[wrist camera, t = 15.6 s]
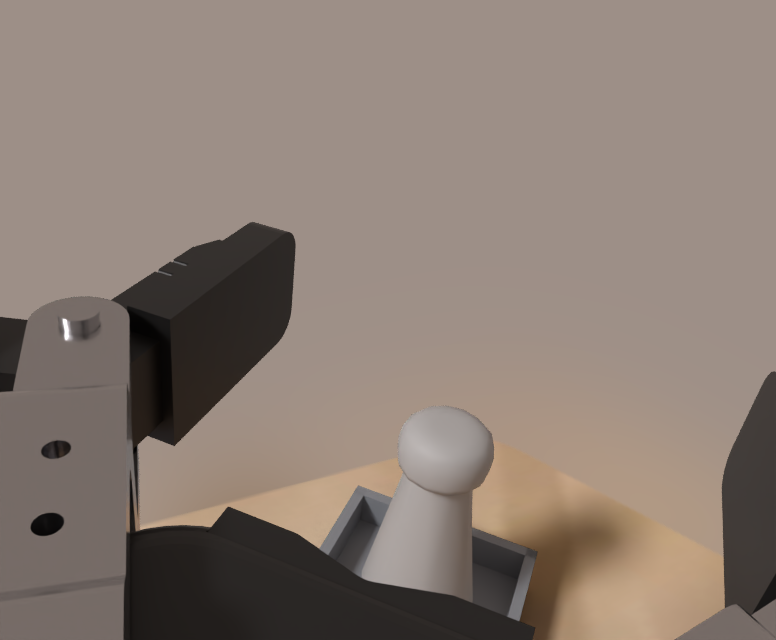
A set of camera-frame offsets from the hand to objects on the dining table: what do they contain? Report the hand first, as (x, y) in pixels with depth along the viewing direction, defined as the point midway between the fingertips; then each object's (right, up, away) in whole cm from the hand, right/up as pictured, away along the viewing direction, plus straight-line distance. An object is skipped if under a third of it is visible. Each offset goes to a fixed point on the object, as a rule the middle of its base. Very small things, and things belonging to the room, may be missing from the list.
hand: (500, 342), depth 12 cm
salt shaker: (-1, -16, +27) cm, 31 cm away
